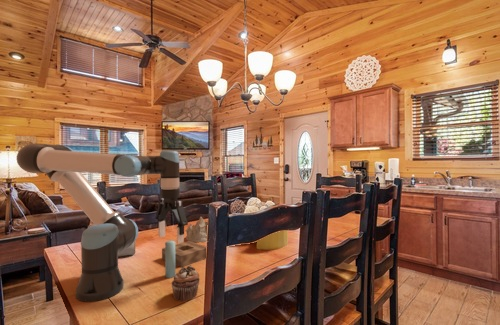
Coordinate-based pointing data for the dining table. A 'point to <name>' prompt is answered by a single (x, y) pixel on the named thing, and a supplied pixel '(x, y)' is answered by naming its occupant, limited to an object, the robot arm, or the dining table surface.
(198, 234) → the sand castle
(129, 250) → the ceramic mug
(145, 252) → the dining table surface
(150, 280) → the dining table surface
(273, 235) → the cheese
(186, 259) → the socket block
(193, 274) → the cupcake
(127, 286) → the dining table surface
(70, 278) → the dining table surface
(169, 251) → the peg
